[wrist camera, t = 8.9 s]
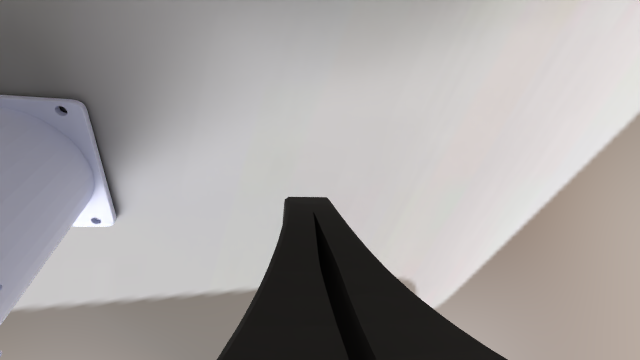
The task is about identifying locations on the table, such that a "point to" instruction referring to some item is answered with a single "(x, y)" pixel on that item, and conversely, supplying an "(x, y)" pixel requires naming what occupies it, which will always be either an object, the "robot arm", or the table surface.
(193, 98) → the table surface
